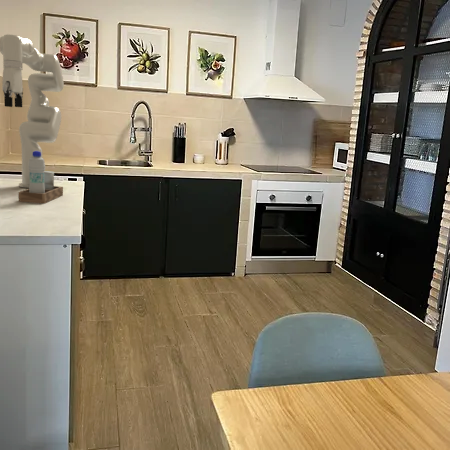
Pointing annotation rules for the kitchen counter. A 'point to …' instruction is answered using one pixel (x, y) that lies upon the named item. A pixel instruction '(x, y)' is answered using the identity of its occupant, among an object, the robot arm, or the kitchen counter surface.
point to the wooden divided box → (50, 193)
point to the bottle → (36, 173)
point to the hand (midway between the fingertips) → (13, 106)
